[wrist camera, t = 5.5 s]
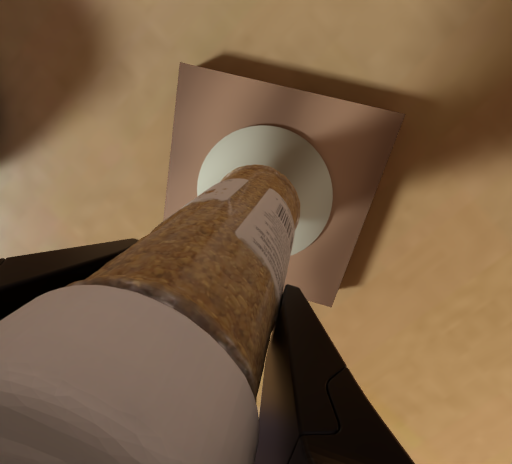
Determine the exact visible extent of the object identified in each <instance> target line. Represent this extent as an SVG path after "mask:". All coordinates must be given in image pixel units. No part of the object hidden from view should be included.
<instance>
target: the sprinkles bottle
mask: <svg viewBox="0 0 512 464" xmlns="http://www.w3.org/2000/svg"><path fill="white" fill-rule="evenodd" d="M299 218H300V200H299V198H298V194H297V192H296V190H295V188H294V186H293V185H292V184H291V182H290V181H289V180H288V179H287V177H286V176H285V175H283V174H281V173H280V172H279V171H277V170H275V169H274V168H272V167H269V166H265V165H246V166H242V167H238V168H236V169H234V170H232V171H231V172H230V173H228V174H227V175H226V176H225V177H224V178H223V179H222V180H221V181H220V182H219V183H217V184H215V185H213V186H212V187H210V188H209V189H207V190H206V191H204V192H203V193H201V194H200V195H199V196H197V197H196V198H194V199H193V200H192V201H190V202H189V203H188V204H186V205H185V206H183V207H182V208H181V209H179V210H178V211H177V212H175V213H174V214H172V215H171V216H170V217H168V218H167V219H166V220H164V221H163V222H162V223H161V224H159V225H158V226H157V227H156V228H155V229H154V230H153V231H152V232H151V233H150V234H149V235H147V236H145V237H143V238H141V239H140V240H139V241H138V242H136V243H135V244H133V245H132V246H131V247H129V248H128V249H127V250H126V251H124V252H123V253H121V254H119V255H118V256H116V257H115V258H114V259H113V260H111V261H109V262H107V263H106V264H105V265H104V266H103V267H102V268H100V269H99V270H98V271H97V272H95V273H93V274H92V275H91V276H89V277H88V278H86V279H85V280H81V281H75V282H73V283H71V284H69V285H67V286H65V287H63V288H59V289H56V290H52V291H49V292H47V293H44V294H42V295H40V296H38V297H36V298H35V299H33V300H32V301H30V302H28V303H27V304H25V305H24V306H22V307H21V308H19V309H18V310H16V311H14V312H13V313H11V314H10V315H8V316H7V317H5V318H4V319H2V320H0V464H254V462H255V457H256V452H257V447H258V442H259V430H260V428H259V417H258V410H257V405H256V397H257V393H258V389H259V385H260V381H261V376H262V372H263V368H264V362H265V357H266V353H267V349H268V345H269V341H270V335H271V332H272V331H273V329H274V327H275V324H276V320H277V317H278V313H279V309H280V304H281V298H282V293H283V289H284V284H285V279H286V275H287V270H288V265H289V260H290V256H291V251H292V246H293V241H294V234H295V230H296V228H297V225H298V222H299Z"/></svg>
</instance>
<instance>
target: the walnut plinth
mask: <svg viewBox="0 0 512 464" xmlns="http://www.w3.org/2000/svg"><path fill="white" fill-rule="evenodd" d="M404 117H405V114H402V113H398V112H394V111H389V110H385V109H381V108H376V107H372V106H368V105H363V104H359V103H354V102H350V101H346V100H341V99H337V98H333V97H328V96H324V95H320V94H315V93H311V92H307V91H302V90H298V89H294V88H289V87H285V86H281V85H276V84H272V83H268V82H263V81H259V80H255V79H250V78H246V77H242V76H237V75H233V74H229V73H224V72H220V71H216V70H211V69H207V68H202V67H198V66H194V65H189V64H185V63H181V62H180V67H179V76H178V86H177V96H176V105H175V115H174V124H173V134H172V143H171V153H170V163H169V172H168V182H167V191H166V201H165V210H164V220H166V219H167V218H168V217H170V216H171V215H172V214H174V213H175V212H177V211H178V210H179V209H181V208H182V207H183V206H185V205H186V204H188V203H189V202H190V201H192V200H193V199H194V198H196V197H197V196H199V195H200V194H201V193H203V192H204V191H206V190H207V189H209V188H210V187H212V186H213V185H215V184H217V183H219V182H220V181H221V180H222V179H223V178H224V177H225V176H226V175H227V174H228V173H230V172H231V171H232V170H234V169H236V168H238V167H242V166H246V165H265V166H269V167H272V168H274V169H275V170H277V171H279V172H280V173H281V174H283V175H285V176H286V177H287V179H288V180H289V181H290V182H291V184H292V185H293V186H294V188H295V190H296V192H297V194H298V198H299V200H300V218H299V222H298V225H297V228H296V230H295V234H294V241H293V246H292V251H291V256H290V260H289V265H288V270H287V275H286V279H285V284H284V288H285V285H287V284H289V285H292V286H296V287H299V288H300V289H301V291H302V293H303V294H304V296H305V298H306V299H307V300H308V301H312V302H315V303H318V304H322V305H325V306H329V307H332V305H333V302H334V299H335V297H336V294H337V291H338V289H339V286H340V284H341V281H342V278H343V276H344V273H345V271H346V268H347V265H348V263H349V260H350V258H351V255H352V252H353V250H354V247H355V244H356V242H357V239H358V237H359V234H360V231H361V229H362V226H363V224H364V221H365V218H366V216H367V213H368V211H369V208H370V205H371V203H372V200H373V197H374V195H375V192H376V190H377V187H378V184H379V182H380V179H381V177H382V174H383V171H384V169H385V166H386V164H387V161H388V158H389V156H390V153H391V150H392V148H393V145H394V143H395V140H396V137H397V135H398V132H399V130H400V127H401V124H402V122H403V119H404ZM164 220H163V221H164ZM283 291H284V289H283Z"/></svg>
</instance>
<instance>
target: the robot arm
mask: <svg viewBox="0 0 512 464" xmlns="http://www.w3.org/2000/svg"><path fill="white" fill-rule="evenodd" d="M138 241H139V240H137V239H125V240H119V241H112V242H106V243H99V244H93V245H86V246H80V247H73V248H67V249H61V250H54V251H48V252H41V253H35V254H28V255H22V256H15V257H9V258H6V259H4V258H2V259H0V320H2V319H4V318H5V317H7V316H8V315H10V314H11V313H13V312H14V311H16V310H18V309H19V308H21V307H22V306H24V305H25V304H27V303H28V302H30V301H32V300H33V299H35V298H36V297H38V296H40V295H42V294H44V293H47V292H49V291H52V290H56V289H59V288H63V287H65V286H67V285H69V284H71V283H73V282H75V281H81V280H85V279H86V278H88V277H89V276H91V275H92V274H93V273H95V272H97V271H98V270H99V269H100V268H102V267H103V266H104V265H105V264H106V263H107V262H109V261H111V260H113V259H114V258H115V257H116V256H118V255H119V254H121V253H123V252H124V251H126V250H127V249H128V248H129V247H131V246H132V245H133V244H135V243H136V242H138ZM259 428H260V430H259V442H258V447H257V452H256V457H255V462H254V464H415V463H414V462H413V460H412V459H411V458H410V456H409V455H408V454H407V452H406V451H405V450H404V448H403V447H402V446H401V444H400V443H399V442H398V440H397V439H396V438H395V436H394V435H393V433H392V432H391V431H390V429H389V428H388V427H387V425H386V424H385V423H384V421H383V420H382V419H381V417H380V416H379V414H378V413H377V412H376V410H375V409H374V407H373V406H372V404H371V403H370V402H369V400H368V399H367V397H366V396H365V394H364V393H363V391H362V390H361V388H360V386H359V385H358V383H357V382H356V380H355V379H354V377H353V375H352V374H351V372H350V370H349V369H348V368H347V366H346V364H345V362H344V361H343V359H342V357H341V356H340V354H339V352H338V351H337V349H336V347H335V346H334V344H333V342H332V341H331V339H330V337H329V336H328V334H327V332H326V331H325V329H324V327H323V326H322V324H321V322H320V321H319V319H318V318H317V316H316V314H315V313H314V311H313V309H312V308H311V306H310V304H309V303H308V301H307V299H306V298H305V296H304V294H303V293H302V291H301V289H300V288H299V287H296V286H292V285H289V284H287V285H285V288H284V291H283V294H282V298H281V304H280V309H279V313H278V317H277V320H276V324H275V327H274V329H273V331H272V335H271V339H270V343H269V347H268V351H267V356H266V362H265V370H264V379H263V388H262V397H261V406H260V415H259Z"/></svg>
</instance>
